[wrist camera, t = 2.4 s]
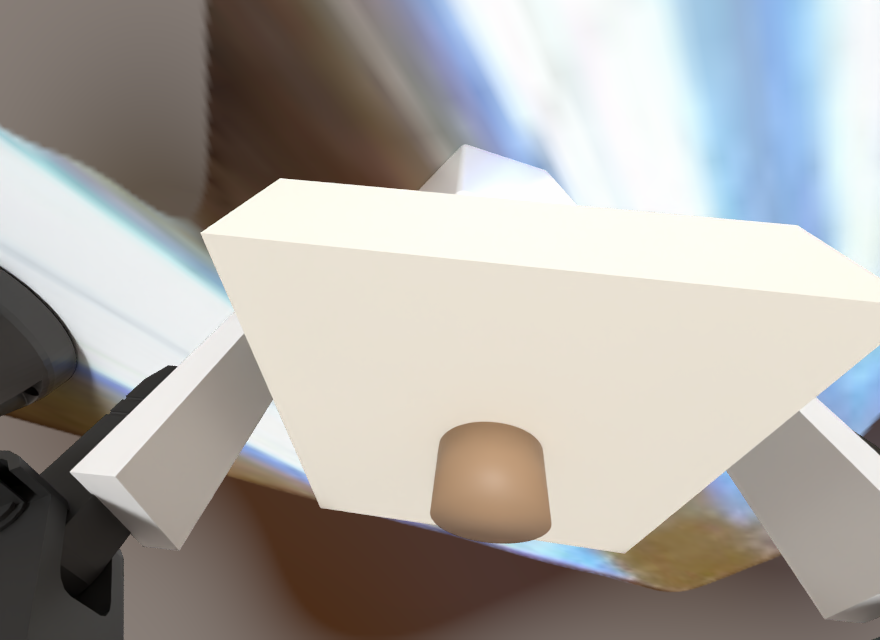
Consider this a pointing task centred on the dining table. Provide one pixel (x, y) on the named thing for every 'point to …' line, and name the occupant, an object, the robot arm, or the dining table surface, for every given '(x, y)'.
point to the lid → (530, 351)
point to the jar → (494, 178)
